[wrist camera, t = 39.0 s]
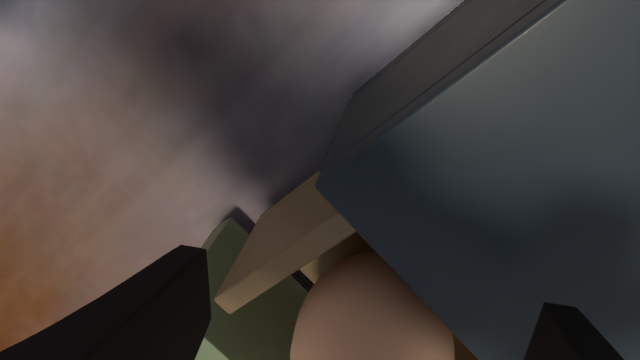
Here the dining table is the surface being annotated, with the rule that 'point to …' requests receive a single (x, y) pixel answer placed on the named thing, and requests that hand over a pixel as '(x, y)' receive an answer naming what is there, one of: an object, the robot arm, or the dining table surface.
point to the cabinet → (504, 169)
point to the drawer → (274, 275)
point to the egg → (367, 317)
